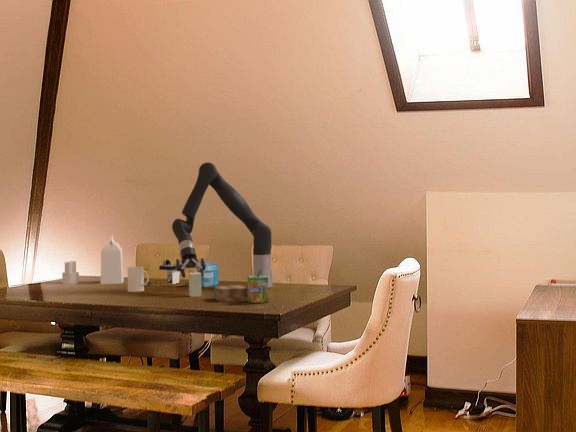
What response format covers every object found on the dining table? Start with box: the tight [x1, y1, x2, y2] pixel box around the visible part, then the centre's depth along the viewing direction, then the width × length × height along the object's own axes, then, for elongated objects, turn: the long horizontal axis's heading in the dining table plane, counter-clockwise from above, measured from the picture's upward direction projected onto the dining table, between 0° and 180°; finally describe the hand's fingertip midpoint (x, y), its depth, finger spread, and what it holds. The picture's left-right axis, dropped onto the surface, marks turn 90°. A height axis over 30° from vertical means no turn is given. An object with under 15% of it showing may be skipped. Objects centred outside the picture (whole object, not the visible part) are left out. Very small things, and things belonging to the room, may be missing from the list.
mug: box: [126, 266, 150, 293], centre depth 409 cm, size 12×8×12 cm
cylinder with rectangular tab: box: [61, 260, 80, 285], centre depth 449 cm, size 9×9×12 cm
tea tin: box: [188, 272, 203, 298], centre depth 387 cm, size 5×5×11 cm
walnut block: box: [213, 284, 248, 303], centre depth 372 cm, size 13×13×6 cm
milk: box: [100, 235, 125, 285], centre depth 450 cm, size 12×12×26 cm
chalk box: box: [246, 269, 269, 304], centre depth 363 cm, size 9×9×15 cm
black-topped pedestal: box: [148, 258, 189, 287], centre depth 441 cm, size 28×26×13 cm
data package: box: [196, 262, 219, 288], centre depth 428 cm, size 12×4×12 cm, turn 142°
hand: (193, 276), depth 390 cm, fingers open, 8 cm apart
